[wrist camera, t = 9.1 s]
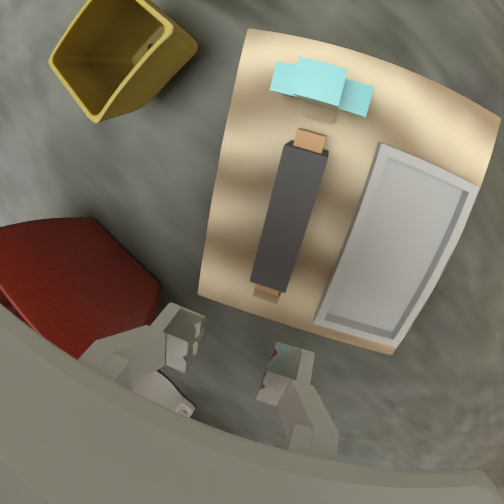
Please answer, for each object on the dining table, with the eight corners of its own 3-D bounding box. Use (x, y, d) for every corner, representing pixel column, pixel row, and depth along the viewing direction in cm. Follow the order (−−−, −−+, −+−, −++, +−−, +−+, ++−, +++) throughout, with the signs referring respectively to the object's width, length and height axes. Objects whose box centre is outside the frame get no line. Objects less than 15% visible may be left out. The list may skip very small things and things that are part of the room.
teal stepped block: (358, 116, 20) (373, 117, 13) (282, 94, 21) (255, 85, 13) (365, 92, 19) (383, 81, 12) (288, 71, 20) (263, 49, 12)
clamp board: (390, 347, 30) (392, 365, 28) (201, 288, 33) (191, 302, 30) (494, 117, 17) (509, 119, 15) (251, 31, 20) (242, 23, 18)
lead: (288, 279, 28) (281, 304, 25) (257, 269, 28) (246, 293, 25) (332, 136, 22) (332, 140, 18) (295, 125, 22) (288, 127, 18)
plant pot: (83, 176, 31) (-37, 233, 16) (201, 287, 33) (116, 407, 18) (50, 270, 40) (-24, 330, 25) (137, 354, 42) (77, 435, 27)
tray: (394, 337, 28) (396, 347, 26) (314, 313, 29) (313, 323, 28) (471, 182, 20) (479, 187, 18) (378, 141, 21) (381, 143, 19)
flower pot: (168, -1, 20) (109, -28, 12) (225, 50, 21) (174, 27, 14) (112, 63, 24) (46, 61, 16) (159, 117, 25) (94, 127, 18)
